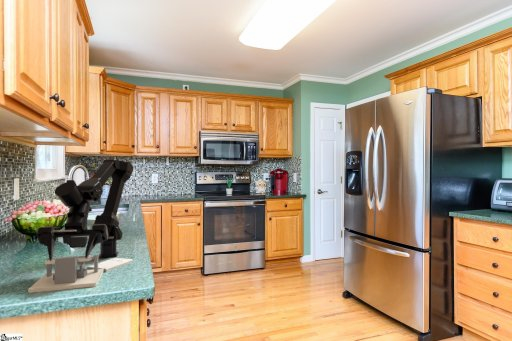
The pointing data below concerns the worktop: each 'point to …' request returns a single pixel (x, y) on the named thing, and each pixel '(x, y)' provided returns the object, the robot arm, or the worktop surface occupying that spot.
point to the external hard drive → (111, 264)
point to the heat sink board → (78, 284)
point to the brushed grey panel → (79, 259)
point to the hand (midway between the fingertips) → (68, 258)
